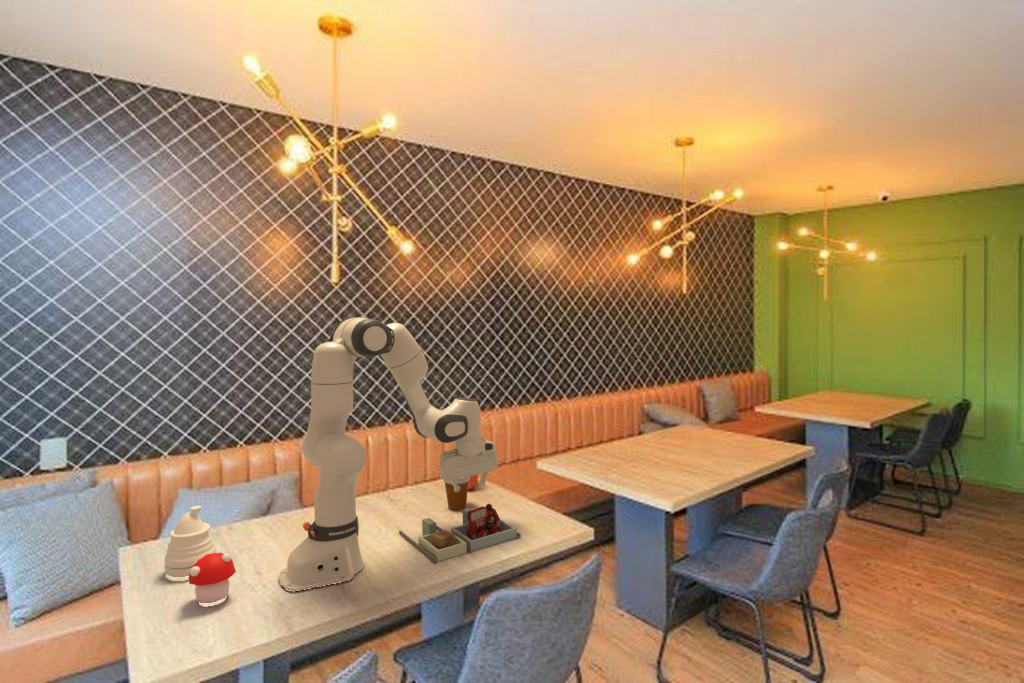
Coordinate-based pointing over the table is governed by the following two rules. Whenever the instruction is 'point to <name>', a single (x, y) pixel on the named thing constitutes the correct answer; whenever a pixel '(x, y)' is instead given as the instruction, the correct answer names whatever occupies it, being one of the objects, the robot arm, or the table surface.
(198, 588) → the mushroom
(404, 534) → the lane rails
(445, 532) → the walnut cube
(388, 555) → the table surface
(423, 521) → the cube lane
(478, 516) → the toy fire truck
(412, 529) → the table surface
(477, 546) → the grey open rectangular tray
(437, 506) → the table surface
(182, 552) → the honey pot
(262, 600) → the table surface
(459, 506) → the disposable coffee cup
